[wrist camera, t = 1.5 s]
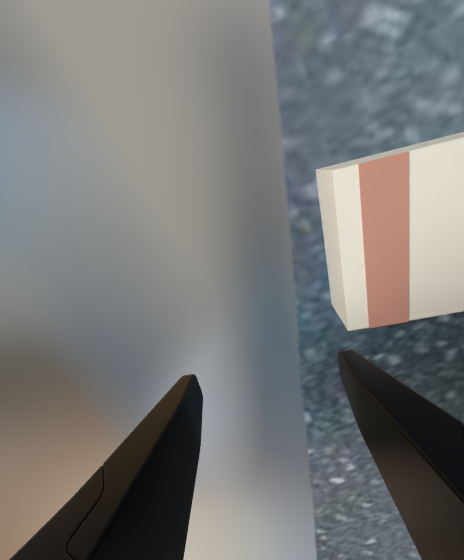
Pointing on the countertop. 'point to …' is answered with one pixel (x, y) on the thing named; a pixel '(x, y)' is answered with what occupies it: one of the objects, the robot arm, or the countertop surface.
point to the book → (395, 233)
